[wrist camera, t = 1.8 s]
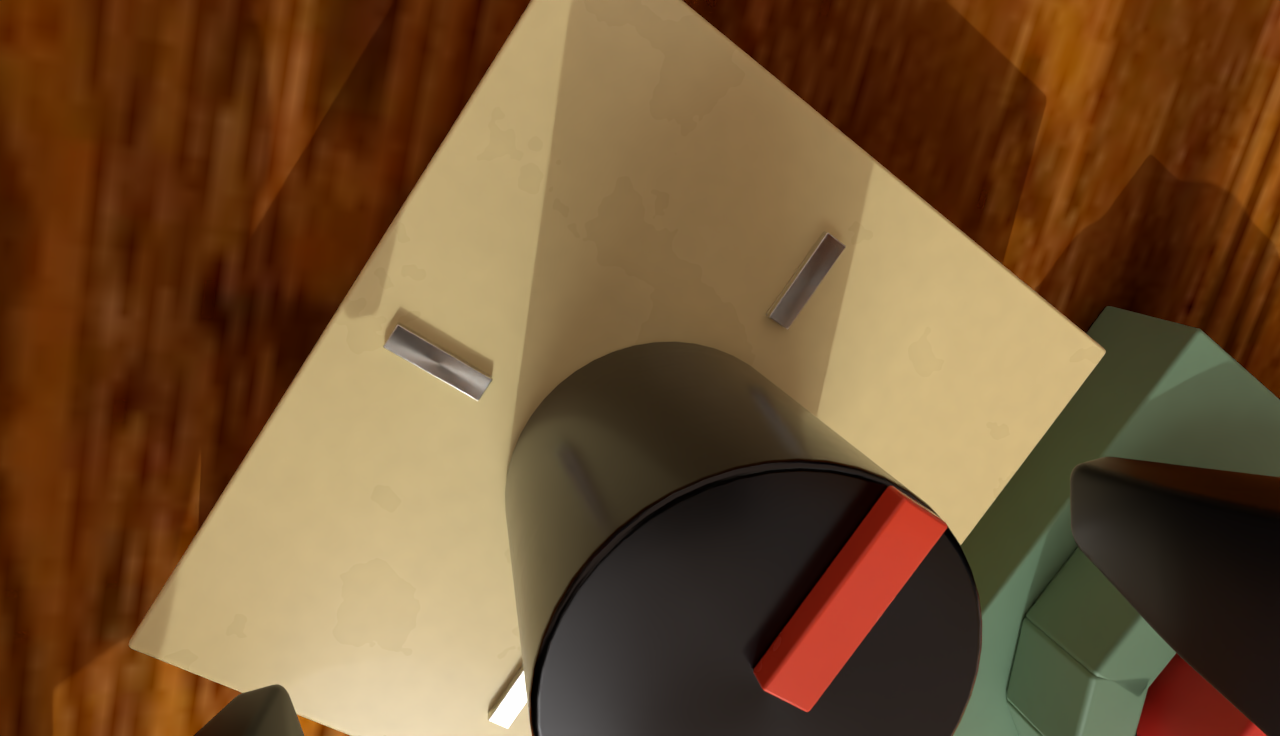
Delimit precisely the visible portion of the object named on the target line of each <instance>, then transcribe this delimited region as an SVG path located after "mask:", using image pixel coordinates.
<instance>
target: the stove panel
mask: <svg viewBox="0 0 1280 736" xmlns="http://www.w3.org/2000/svg"><path fill="white" fill-rule="evenodd" d="M653 342H684V343H694V344H699V345H703V346H707V347H711V348H715V349H718V350H720V351H723V352H725V353H728V354H730V355H733V356H735V357H736V358H738V359H740V360H742V361H743V362H745V363H747V364H749V365H750V366H751V367H753V368H754V369H755V370H756V371H758V372H759V373H760V374H762V375H763V376H764V377H765V378H767V379H768V380H769V381H771V382H772V383H773V384H774V385H776V386H777V387H778V388H780V389H781V390H782V391H783V392H785V393H786V394H787V395H789V396H790V397H791V398H792V399H794V400H795V401H796V402H798V403H799V404H800V405H801V406H803V407H804V408H805V409H806V410H808V411H809V412H810V413H812V414H813V415H814V416H815V417H817V418H818V419H819V420H821V421H822V422H823V423H824V424H826V425H827V426H828V427H830V428H831V429H832V430H833V431H835V432H836V433H837V434H838V435H840V436H841V437H842V438H844V439H845V440H846V441H847V442H849V443H850V444H851V445H853V446H854V447H855V448H856V449H858V450H859V451H860V452H862V453H863V454H864V455H865V456H867V457H868V458H869V459H871V460H872V461H873V462H874V463H876V464H877V465H878V466H879V467H881V468H882V469H883V470H885V471H886V472H887V473H888V474H890V475H891V476H892V477H894V478H895V479H896V480H897V481H899V482H900V483H901V484H903V485H904V486H905V487H906V488H908V489H909V490H910V491H912V492H913V493H914V494H915V495H917V496H918V497H919V498H920V499H922V500H923V501H924V502H926V503H927V504H928V505H929V506H930V507H931V508H932V509H933V510H934V511H935V512H936V513H937V514H938V515H939V516H940V518H941V519H942V520H943V521H945V522H946V524H947V525H948V527H949V528H950V530H951V531H952V533H953V534H954V536H955V537H956V539H957V540H958V542H959V543H960V545H961V544H962V543H963V542H964V540H965V539H966V538H967V536H968V535H969V534H970V532H971V531H972V530H973V528H974V527H975V526H976V524H977V523H978V522H979V520H980V519H981V518H982V516H983V515H984V514H985V513H986V511H987V510H988V509H989V507H990V506H991V505H992V503H993V502H994V501H995V499H996V498H997V497H998V495H999V494H1000V493H1001V491H1002V490H1003V489H1004V487H1005V486H1006V485H1007V483H1008V482H1009V481H1010V479H1011V478H1012V477H1013V475H1014V474H1015V473H1016V471H1017V470H1018V469H1019V467H1020V466H1021V465H1022V463H1023V462H1024V461H1025V459H1026V458H1027V457H1028V456H1029V454H1030V453H1031V452H1032V450H1033V449H1034V448H1035V446H1036V445H1037V444H1038V442H1039V441H1040V440H1041V438H1042V437H1043V436H1044V434H1045V433H1046V432H1047V430H1048V429H1049V428H1050V426H1051V425H1052V424H1053V422H1054V421H1055V420H1056V418H1057V417H1058V416H1059V414H1060V413H1061V412H1062V410H1063V409H1064V408H1065V406H1066V405H1067V404H1068V402H1069V401H1070V400H1071V398H1072V397H1073V396H1074V395H1075V393H1076V392H1077V391H1078V389H1079V388H1080V387H1081V385H1082V384H1083V383H1084V381H1085V380H1086V379H1087V377H1088V376H1089V375H1090V373H1091V372H1092V371H1093V369H1094V368H1095V367H1096V365H1097V364H1098V363H1099V361H1100V360H1101V359H1102V357H1103V356H1104V355H1105V353H1106V350H1105V349H1104V348H1103V347H1102V346H1101V345H1100V344H1098V343H1097V342H1096V341H1095V340H1094V339H1092V338H1091V337H1090V336H1089V335H1087V334H1086V333H1085V332H1084V331H1083V330H1081V329H1080V328H1079V327H1078V326H1077V325H1075V324H1074V323H1073V322H1072V321H1071V320H1069V319H1068V318H1067V317H1066V316H1064V315H1063V314H1062V313H1061V312H1060V311H1058V310H1057V309H1056V308H1055V307H1054V306H1052V305H1051V304H1050V303H1049V302H1047V301H1046V300H1045V299H1044V298H1043V297H1041V296H1040V295H1039V294H1038V293H1037V292H1035V291H1034V290H1033V289H1032V288H1030V287H1029V286H1028V285H1027V284H1026V283H1024V282H1023V281H1022V280H1021V279H1020V278H1018V277H1017V276H1016V275H1015V274H1013V273H1012V272H1011V271H1010V270H1009V269H1007V268H1006V267H1005V266H1004V265H1003V264H1001V263H1000V262H999V261H998V260H997V259H995V258H994V257H993V256H992V255H990V254H989V253H988V252H987V251H986V250H984V249H983V248H982V247H981V246H980V245H978V244H977V243H976V242H975V241H973V240H972V239H971V238H970V237H969V236H967V235H966V234H965V233H964V232H963V231H961V230H960V229H959V228H958V227H956V226H955V225H954V224H953V223H952V222H950V221H949V220H948V219H947V218H946V217H944V216H943V215H942V214H941V213H940V212H938V211H937V210H936V209H935V208H933V207H932V206H931V205H930V204H929V203H927V202H926V201H925V200H924V199H923V198H921V197H920V196H919V195H918V194H916V193H915V192H914V191H913V190H912V189H910V188H909V187H908V186H907V185H906V184H904V183H903V182H902V181H901V180H899V179H898V178H897V177H896V176H895V175H893V174H892V173H891V172H890V171H889V170H887V169H886V168H885V167H884V166H882V165H881V164H880V163H879V162H878V161H876V160H875V159H874V158H873V157H872V156H870V155H869V154H868V153H867V152H866V151H864V150H863V149H862V148H861V147H859V146H858V145H857V144H856V143H855V142H853V141H852V140H851V139H850V138H849V137H847V136H846V135H845V134H844V133H842V132H841V131H840V130H839V129H838V128H836V127H835V126H834V125H833V124H832V123H830V122H829V121H828V120H827V119H825V118H824V117H823V116H822V115H821V114H819V113H818V112H817V111H816V110H815V109H813V108H812V107H811V106H810V105H808V104H807V103H806V102H805V101H804V100H802V99H801V98H800V97H799V96H798V95H796V94H795V93H794V92H793V91H792V90H790V89H789V88H788V87H787V86H785V85H784V84H783V83H782V82H781V81H779V80H778V79H777V78H776V77H775V76H773V75H772V74H771V73H770V72H768V71H767V70H766V69H765V68H764V67H762V66H761V65H760V64H759V63H758V62H756V61H755V60H754V59H753V58H751V57H750V56H749V55H748V54H747V53H745V52H744V51H743V50H742V49H741V48H739V47H738V46H737V45H736V44H734V43H733V42H732V41H731V40H730V39H728V38H727V37H726V36H725V35H724V34H722V33H721V32H720V31H719V30H718V29H716V28H715V27H714V26H713V25H711V24H710V23H709V22H708V21H707V20H705V19H704V18H703V17H702V16H701V15H699V14H698V13H697V12H696V11H694V10H693V9H692V8H691V7H690V6H688V5H687V4H686V3H685V2H684V1H682V0H531V1H530V3H529V4H528V6H527V8H526V9H525V11H524V12H523V14H522V16H521V17H520V19H519V20H518V22H517V23H516V25H515V27H514V28H513V30H512V31H511V33H510V35H509V36H508V38H507V39H506V41H505V43H504V44H503V46H502V47H501V49H500V51H499V52H498V54H497V55H496V57H495V59H494V60H493V62H492V63H491V65H490V67H489V68H488V70H487V71H486V73H485V75H484V76H483V78H482V79H481V81H480V83H479V84H478V86H477V87H476V89H475V90H474V92H473V94H472V95H471V97H470V98H469V100H468V102H467V103H466V105H465V106H464V108H463V110H462V111H461V113H460V114H459V116H458V118H457V119H456V121H455V122H454V124H453V126H452V127H451V129H450V130H449V132H448V134H447V135H446V137H445V138H444V140H443V142H442V143H441V145H440V146H439V148H438V149H437V151H436V153H435V154H434V156H433V157H432V159H431V161H430V162H429V164H428V165H427V167H426V169H425V170H424V172H423V173H422V175H421V177H420V178H419V180H418V181H417V183H416V185H415V186H414V188H413V189H412V191H411V193H410V194H409V196H408V197H407V199H406V201H405V202H404V204H403V205H402V207H401V209H400V210H399V212H398V213H397V215H396V216H395V218H394V220H393V221H392V223H391V224H390V226H389V228H388V229H387V231H386V232H385V234H384V236H383V237H382V239H381V240H380V242H379V244H378V245H377V247H376V248H375V250H374V252H373V253H372V255H371V256H370V258H369V260H368V261H367V263H366V264H365V266H364V268H363V269H362V271H361V272H360V274H359V275H358V277H357V279H356V280H355V282H354V283H353V285H352V287H351V288H350V290H349V291H348V293H347V295H346V296H345V298H344V299H343V301H342V303H341V304H340V306H339V307H338V309H337V311H336V312H335V314H334V315H333V317H332V319H331V320H330V322H329V323H328V325H327V327H326V328H325V330H324V331H323V333H322V335H321V336H320V338H319V339H318V341H317V342H316V344H315V346H314V347H313V349H312V350H311V352H310V354H309V355H308V357H307V358H306V360H305V362H304V363H303V365H302V366H301V368H300V370H299V371H298V373H297V374H296V376H295V378H294V379H293V381H292V382H291V384H290V386H289V387H288V389H287V390H286V392H285V394H284V395H283V397H282V398H281V400H280V401H279V403H278V405H277V406H276V408H275V409H274V411H273V413H272V414H271V416H270V417H269V419H268V421H267V422H266V424H265V425H264V427H263V429H262V430H261V432H260V433H259V435H258V437H257V438H256V440H255V441H254V443H253V445H252V446H251V448H250V449H249V451H248V453H247V454H246V456H245V457H244V459H243V460H242V462H241V464H240V465H239V467H238V468H237V470H236V472H235V473H234V475H233V476H232V478H231V480H230V481H229V483H228V484H227V486H226V488H225V489H224V491H223V492H222V494H221V496H220V497H219V499H218V500H217V502H216V504H215V505H214V507H213V508H212V510H211V512H210V513H209V515H208V516H207V518H206V520H205V521H204V523H203V524H202V526H201V527H200V529H199V531H198V532H197V534H196V535H195V537H194V539H193V540H192V542H191V543H190V545H189V547H188V548H187V550H186V551H185V553H184V555H183V556H182V558H181V559H180V561H179V563H178V564H177V566H176V567H175V569H174V571H173V572H172V574H171V575H170V577H169V579H168V580H167V582H166V583H165V585H164V586H163V588H162V590H161V591H160V593H159V594H158V596H157V598H156V599H155V601H154V602H153V604H152V606H151V607H150V609H149V610H148V612H147V614H146V615H145V617H144V618H143V620H142V622H141V623H140V625H139V626H138V628H137V630H136V631H135V633H134V634H133V636H132V638H131V639H130V641H129V647H130V648H131V649H134V650H136V651H139V652H141V653H144V654H146V655H149V656H151V657H154V658H156V659H159V660H161V661H164V662H166V663H169V664H171V665H174V666H176V667H179V668H181V669H184V670H187V671H189V672H192V673H194V674H197V675H199V676H202V677H204V678H207V679H209V680H212V681H214V682H217V683H219V684H222V685H224V686H227V687H229V688H232V689H234V690H237V691H239V692H242V693H245V692H248V691H252V690H255V689H259V688H263V687H266V686H270V685H275V684H279V685H281V686H283V687H284V688H285V689H286V690H287V692H288V693H289V696H290V698H291V701H292V704H293V706H294V709H295V712H296V714H297V715H300V716H302V717H305V718H307V719H310V720H312V721H315V722H317V723H320V724H322V725H325V726H327V727H330V728H333V729H335V730H338V731H340V732H343V733H345V734H348V735H350V736H532V733H531V727H530V721H529V712H528V704H527V695H526V686H525V678H524V669H523V660H522V651H521V643H520V634H519V625H518V616H517V608H516V599H515V590H514V581H513V573H512V564H511V555H510V547H509V538H508V529H507V520H506V512H505V488H506V479H507V472H508V468H509V464H510V460H511V457H512V453H513V451H514V448H515V446H516V443H517V441H518V438H519V436H520V434H521V432H522V430H523V429H524V427H525V425H526V423H527V422H528V420H529V418H530V417H531V415H532V414H533V413H534V411H535V410H536V409H537V407H538V406H539V405H540V403H541V402H542V401H543V400H544V399H545V398H546V397H547V396H548V395H549V394H550V393H551V392H552V390H553V389H554V388H555V387H556V386H557V385H558V384H560V383H561V382H562V381H564V380H565V379H566V378H567V377H569V376H570V375H571V374H573V373H574V372H575V371H577V370H578V369H580V368H582V367H583V366H585V365H587V364H588V363H590V362H592V361H593V360H596V359H598V358H600V357H602V356H605V355H607V354H609V353H611V352H614V351H617V350H621V349H624V348H627V347H631V346H634V345H641V344H647V343H653Z"/></svg>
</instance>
